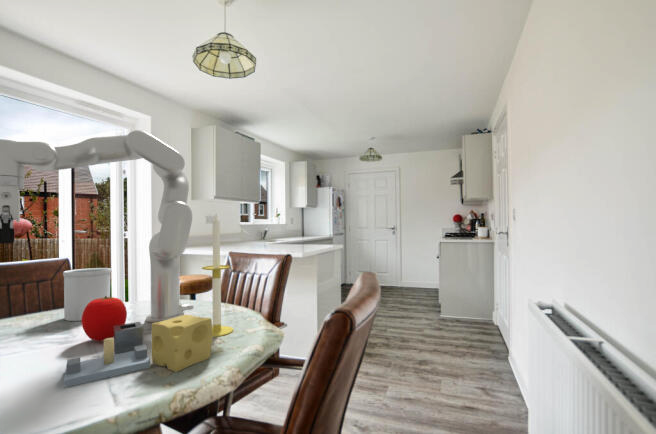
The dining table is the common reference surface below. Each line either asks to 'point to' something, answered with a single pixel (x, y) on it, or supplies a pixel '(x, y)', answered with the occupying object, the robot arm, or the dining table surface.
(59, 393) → the dining table surface
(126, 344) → the brushed steel block
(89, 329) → the tomato
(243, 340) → the dining table surface
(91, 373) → the stand
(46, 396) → the dining table surface
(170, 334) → the cheese
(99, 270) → the utensil holder
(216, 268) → the yellow disc stand
